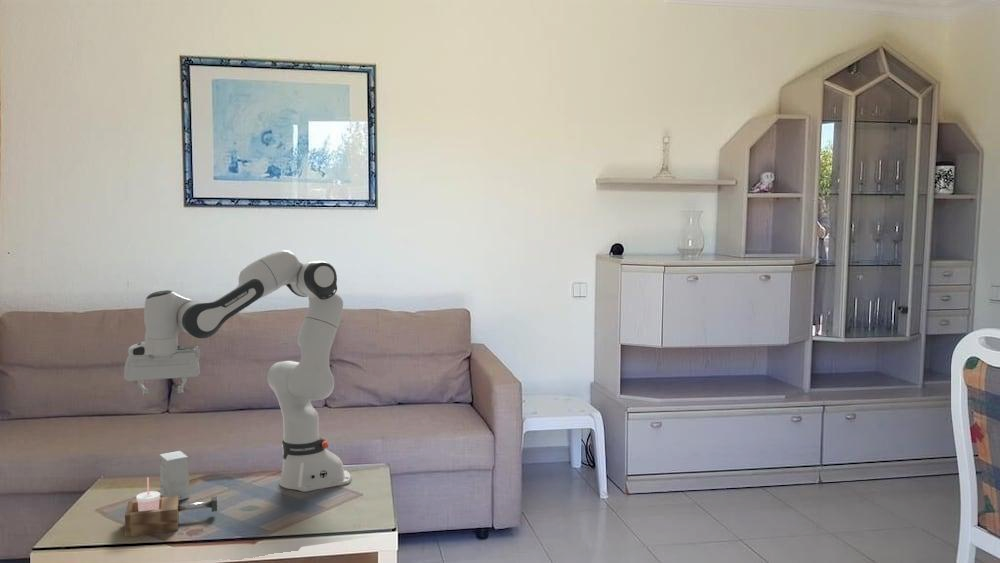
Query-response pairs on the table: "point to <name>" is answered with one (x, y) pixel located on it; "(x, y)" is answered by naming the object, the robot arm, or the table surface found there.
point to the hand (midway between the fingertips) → (163, 393)
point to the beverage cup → (148, 499)
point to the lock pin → (200, 505)
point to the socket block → (152, 517)
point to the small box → (174, 475)
